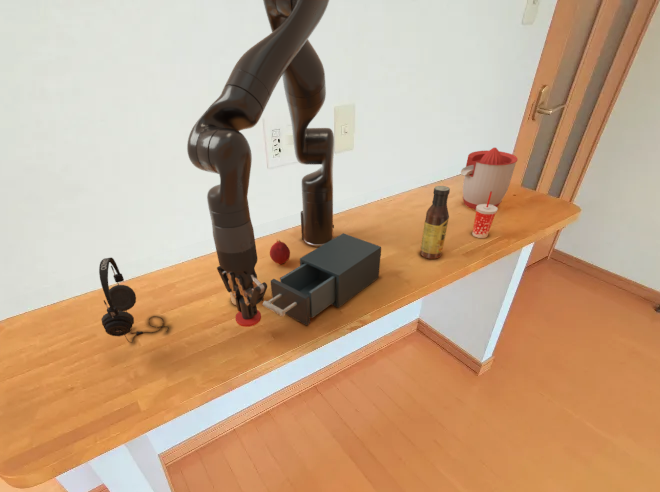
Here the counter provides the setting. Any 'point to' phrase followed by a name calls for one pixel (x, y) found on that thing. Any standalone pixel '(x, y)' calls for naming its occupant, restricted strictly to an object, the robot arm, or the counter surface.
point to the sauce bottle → (435, 224)
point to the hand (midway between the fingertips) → (247, 312)
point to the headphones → (117, 302)
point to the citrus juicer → (487, 177)
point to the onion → (279, 252)
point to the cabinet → (347, 264)
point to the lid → (243, 318)
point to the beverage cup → (483, 219)
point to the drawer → (302, 293)
